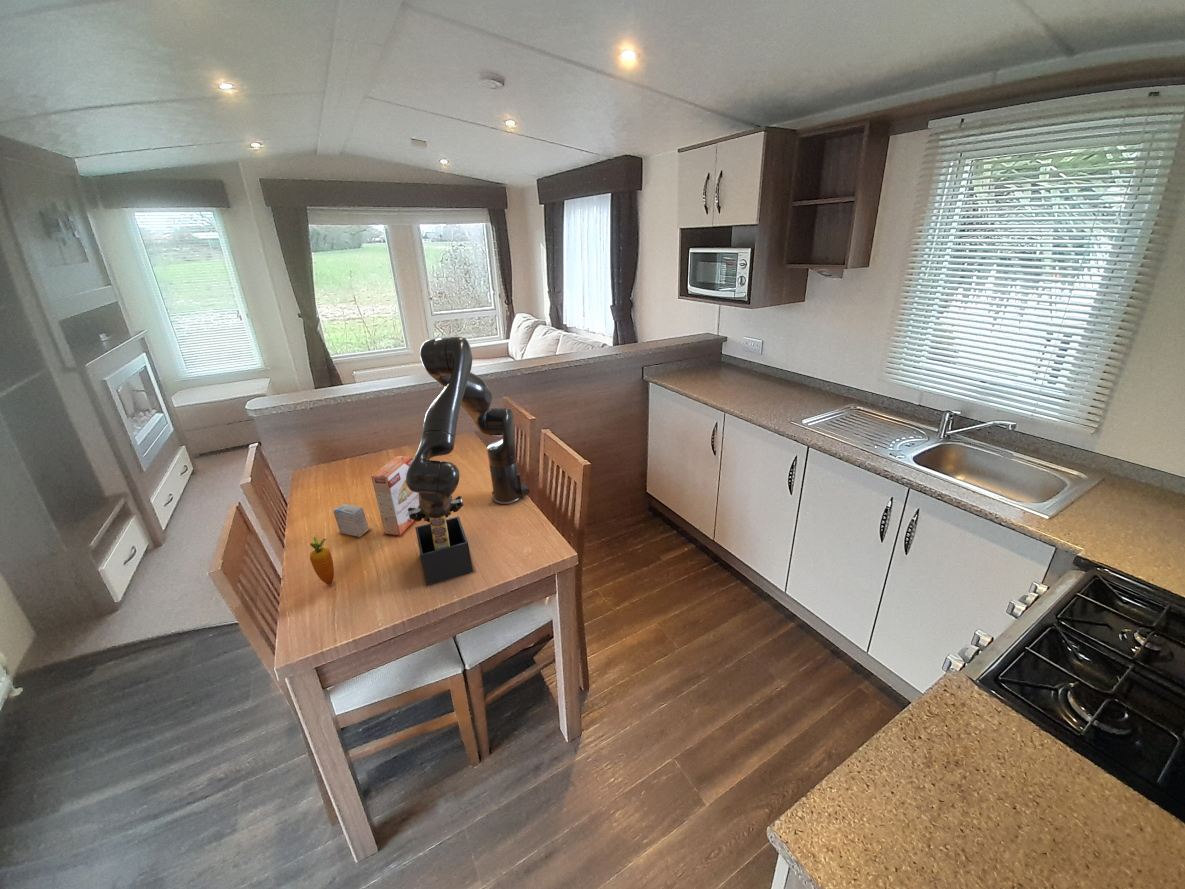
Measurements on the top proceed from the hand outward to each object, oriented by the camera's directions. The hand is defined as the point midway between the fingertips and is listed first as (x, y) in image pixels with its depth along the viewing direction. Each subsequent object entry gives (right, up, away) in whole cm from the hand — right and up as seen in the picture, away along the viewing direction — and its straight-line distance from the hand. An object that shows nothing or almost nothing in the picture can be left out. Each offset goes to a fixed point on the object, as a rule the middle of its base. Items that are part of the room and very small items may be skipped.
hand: (436, 516), depth 130 cm
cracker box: (-18, -6, +24) cm, 31 cm away
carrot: (-28, -18, -2) cm, 34 cm away
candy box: (+1, -10, +3) cm, 10 cm away
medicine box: (-33, -8, +20) cm, 39 cm away
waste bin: (+1, -14, +5) cm, 15 cm away
